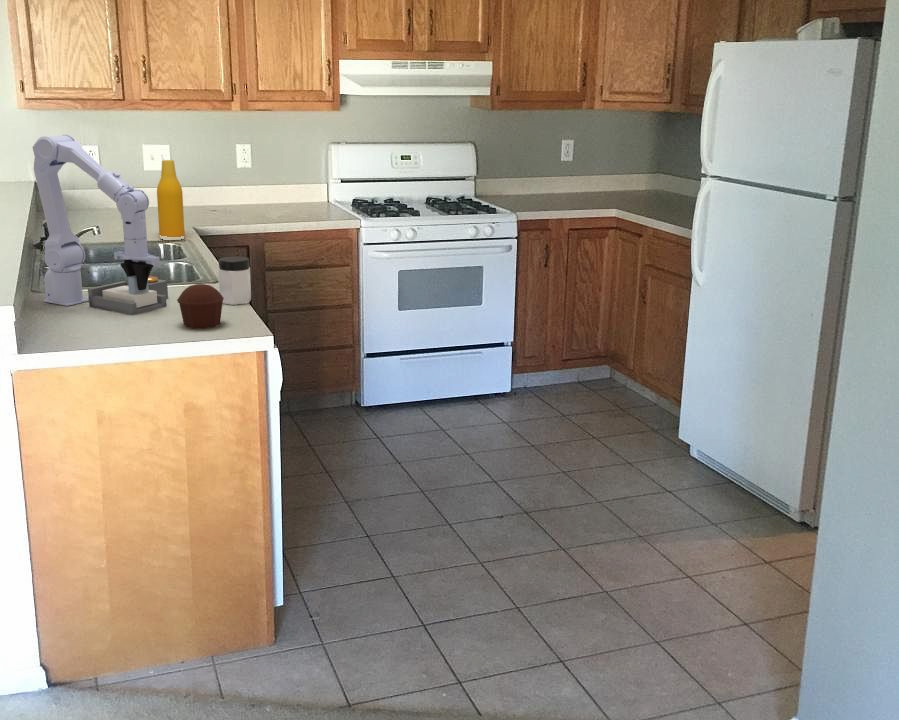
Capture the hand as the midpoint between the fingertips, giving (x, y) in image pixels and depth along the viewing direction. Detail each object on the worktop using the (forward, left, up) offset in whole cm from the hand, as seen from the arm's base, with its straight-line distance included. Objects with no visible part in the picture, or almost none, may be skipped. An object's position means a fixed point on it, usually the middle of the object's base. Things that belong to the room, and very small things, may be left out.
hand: (138, 289), depth 257 cm
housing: (-4, +4, -5) cm, 8 cm away
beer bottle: (-73, +86, -6) cm, 113 cm away
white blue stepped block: (-4, 0, -4) cm, 5 cm away
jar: (+15, +21, -6) cm, 26 cm away
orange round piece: (-6, +10, -4) cm, 12 cm away
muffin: (+25, -3, -6) cm, 25 cm away
